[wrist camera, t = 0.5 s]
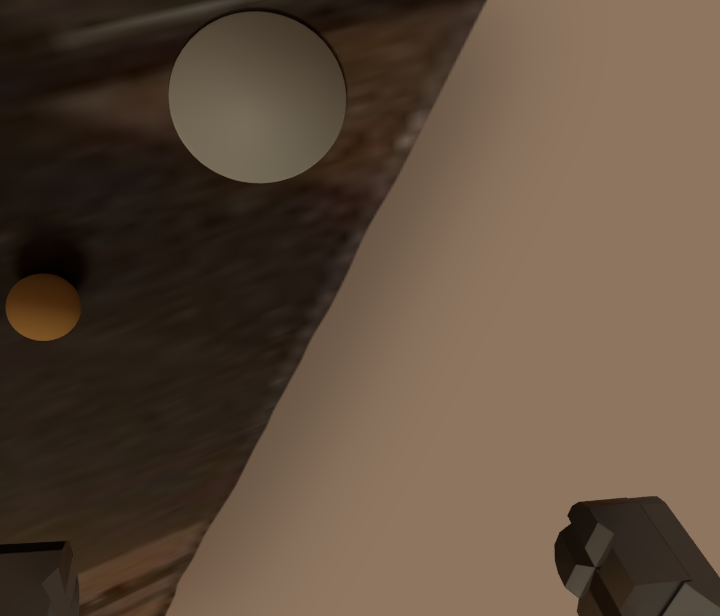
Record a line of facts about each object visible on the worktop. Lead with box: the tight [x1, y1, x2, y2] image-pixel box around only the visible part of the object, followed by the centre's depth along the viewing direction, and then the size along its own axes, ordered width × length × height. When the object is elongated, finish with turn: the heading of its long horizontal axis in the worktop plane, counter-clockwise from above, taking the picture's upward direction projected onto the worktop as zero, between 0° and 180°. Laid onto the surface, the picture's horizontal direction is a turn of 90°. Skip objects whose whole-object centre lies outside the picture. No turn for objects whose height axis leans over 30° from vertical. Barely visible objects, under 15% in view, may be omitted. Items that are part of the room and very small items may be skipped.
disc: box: [169, 11, 346, 183], centre depth 47 cm, size 13×13×1 cm
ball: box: [6, 273, 81, 341], centre depth 51 cm, size 6×6×6 cm
